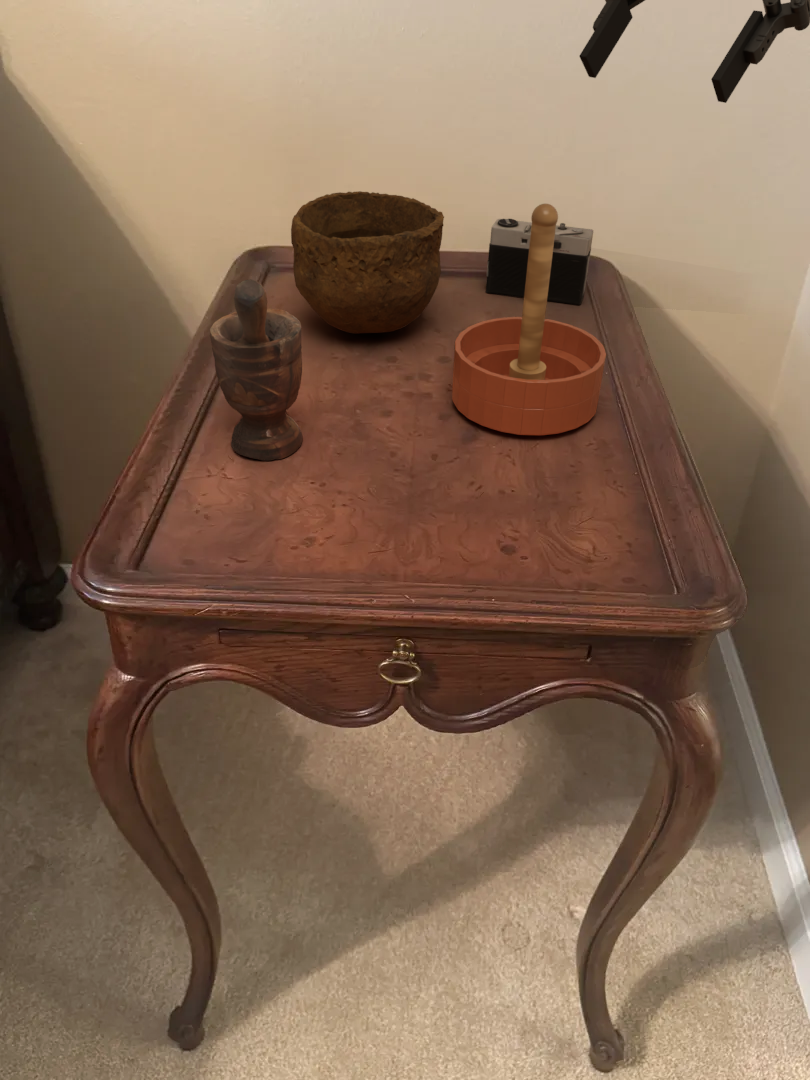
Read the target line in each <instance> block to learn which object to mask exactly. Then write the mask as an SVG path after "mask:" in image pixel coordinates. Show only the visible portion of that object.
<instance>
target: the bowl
mask: <svg viewBox="0 0 810 1080" xmlns="http://www.w3.org/2000/svg"><path fill="white" fill-rule="evenodd" d="M444 219H445V216H444V214H443V211H439V210H438V209H436V208H434V207H432V206H431V205H429V204H425V202H422V201H420V200H418V199H416V198H414V197H412V198H411V197H407V196H403V195H397V194H388V193H380V192H374V191H371V192H369V191H361V190H360V191H347V192H340V191H339V192H333V193H329V194H328V193H327V194H325V195H321V196H318V197H316V198H315V199H312V200H309V201H308V202H307V203H305V204H303V205H301V206H300V207H299V209H298V210H297V212H296V214H295V215H293V217H292V220H291V227H290V241H291V242H290V243H291V246H292V248H293V263H292V264H293V265H292V267H293V277H294V278H293V279H294V283H295V287H296V289H297V290H298V292H299V293H300V295H301V296H302V297H303V299H304V300H305V301H306V302H307V303H308V305H309V307H311V309H313V311H314V312H315V313H316V314H317V315H318V316H319V317H320V318H321V319H322V320H323V321H324V322H325V323H326V324H328V325H329V326H331V327H333V328H336V329H338V330H340V331H342V332H346V333H348V334H349V333H350V334H381V333H391V332H394V331H398V330H401V329H403V328H404V327H406V326H408V325H409V324H411V323H412V322H414V321H415V320H416V319H418V318H419V317H420V316H421V315H422V314H423V313H424V311H425V310H426V308H427V307H428V305H429V303H430V302H431V300H432V298H433V296H434V295H435V292H436V290H437V288H438V285H439V282H440V277H441V273H442V269H441V268H442V267H441V252H440V249H441V246H442V240H443V227H444Z"/></svg>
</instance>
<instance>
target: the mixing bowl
mask: <svg viewBox="0 0 810 1080" xmlns="http://www.w3.org/2000/svg"><path fill="white" fill-rule="evenodd" d="M521 322H522V316H509V317H508V316H505V317H495V318H491V319H487V320H482V321H479V322H477V323H474V324H472V325H469V326H467V327H466V328H465V329H464V330H462V331H460V332H459V334H458V336H456V338H455V341H454V349H453V350H454V351H453V367H452V383H451V384H452V387H451V397H452V399H451V400H452V403H453V404H454V406H455V407H456V410H458V412H459V413H461V414H462V415H463V416H464V417H466V418H467V420H470V421H472V422H474V423H476V424H478V425H480V426H482V427H484V428H488V429H491V430H495V431H497V432H500V433H507V434H512V435H518V436H547V435H556V434H562V433H565V432H568V431H573V430H575V429H578V428H579V427H581V426H583V425H585V424H586V423H589V421H591V419H592V418H593V417H594V416H595V415H596V414H597V409H598V405H599V399H600V393H601V388H602V387H601V386H602V382H603V376H604V372H605V371H604V370H605V366H606V365H605V364H606V358H607V352H606V350H605V346H604V344H603V343H602V342H601V341H600V340H599V339H598V338H597V337H596V336H594V335H593V334H592V333H590V332H588V331H586V330H585V329H583V328H580V327H577V326H575V325H572V324H570V323H566V322H563V321H559V320H554V319H550V318H545V321H544V330H543V338H542V346H541V354H540V361H542V362H543V363H544V364H545V365H546V374H545V380H527V379H520V378H513V377H509V367H510V363H511V361H513V360H515V359H518V351H519V342H520V332H521Z"/></svg>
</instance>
